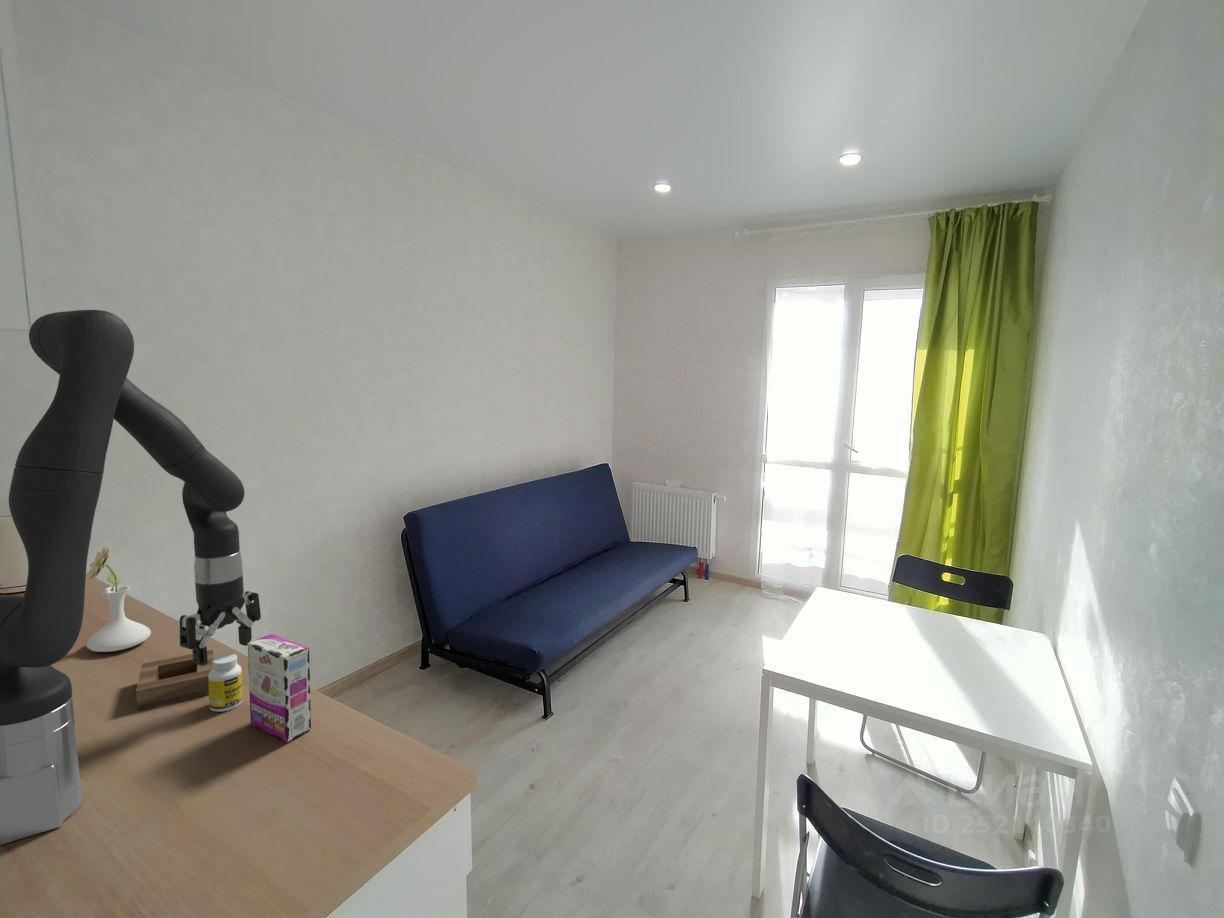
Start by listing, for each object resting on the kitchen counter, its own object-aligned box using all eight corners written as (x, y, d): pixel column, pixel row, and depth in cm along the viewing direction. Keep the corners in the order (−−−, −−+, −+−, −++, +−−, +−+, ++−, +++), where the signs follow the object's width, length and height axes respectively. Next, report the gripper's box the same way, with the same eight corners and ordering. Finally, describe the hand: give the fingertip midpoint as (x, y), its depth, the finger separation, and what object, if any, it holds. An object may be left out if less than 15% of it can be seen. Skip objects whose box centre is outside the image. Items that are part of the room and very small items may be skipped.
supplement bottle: (226, 714, 107) (223, 667, 106) (202, 710, 108) (200, 662, 107) (249, 699, 112) (247, 653, 111) (226, 695, 113) (224, 649, 112)
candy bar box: (313, 729, 104) (311, 646, 102) (287, 744, 100) (284, 658, 97) (275, 711, 109) (272, 632, 107) (249, 724, 105) (245, 642, 102)
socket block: (214, 692, 114) (213, 674, 113) (137, 710, 107) (135, 691, 106) (213, 666, 124) (213, 649, 123) (143, 681, 117) (142, 663, 116)
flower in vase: (96, 638, 133) (88, 537, 130) (157, 631, 138) (150, 533, 135) (75, 664, 122) (65, 554, 118) (142, 655, 127) (134, 549, 123)
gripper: (194, 591, 99) (200, 676, 101) (267, 566, 112) (271, 641, 115) (165, 584, 101) (172, 667, 104) (240, 560, 114) (244, 634, 117)
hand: (224, 653), depth 109 cm, fingers open, 8 cm apart
